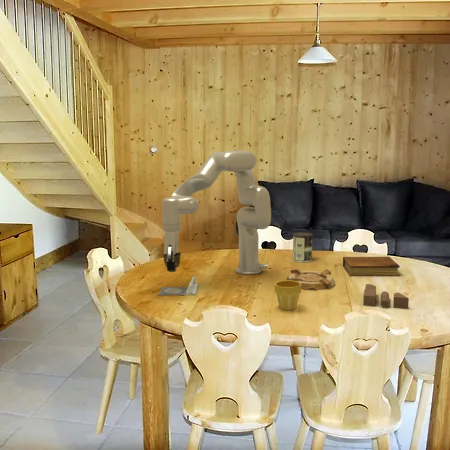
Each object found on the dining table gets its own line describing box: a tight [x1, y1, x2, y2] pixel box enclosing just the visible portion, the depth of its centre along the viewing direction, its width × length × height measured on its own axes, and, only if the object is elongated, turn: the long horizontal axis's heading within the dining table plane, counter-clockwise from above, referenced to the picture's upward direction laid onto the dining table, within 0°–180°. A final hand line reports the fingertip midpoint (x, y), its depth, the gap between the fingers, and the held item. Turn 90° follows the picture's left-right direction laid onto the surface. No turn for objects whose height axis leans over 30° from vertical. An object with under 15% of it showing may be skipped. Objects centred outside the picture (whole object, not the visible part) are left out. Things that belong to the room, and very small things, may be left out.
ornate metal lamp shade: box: [163, 251, 182, 273], centre depth 235 cm, size 8×7×8 cm
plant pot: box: [274, 280, 302, 311], centre depth 216 cm, size 10×10×10 cm
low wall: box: [185, 276, 199, 296], centre depth 240 cm, size 4×14×4 cm, turn 177°
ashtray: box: [286, 268, 336, 291], centre depth 250 cm, size 24×24×5 cm
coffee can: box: [292, 231, 314, 263], centre depth 290 cm, size 10×10×14 cm
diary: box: [342, 256, 400, 277], centre depth 269 cm, size 23×19×6 cm
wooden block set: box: [362, 283, 410, 310], centre depth 224 cm, size 17×6×18 cm
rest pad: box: [157, 286, 188, 297], centre depth 238 cm, size 11×11×1 cm
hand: (172, 267), depth 236 cm, fingers closed on ornate metal lamp shade, 6 cm apart
